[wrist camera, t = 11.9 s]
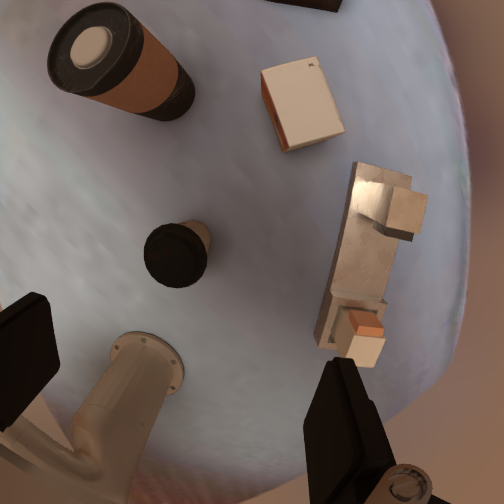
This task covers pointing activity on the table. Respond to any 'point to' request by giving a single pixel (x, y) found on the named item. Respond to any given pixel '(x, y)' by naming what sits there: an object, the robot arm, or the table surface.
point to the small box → (300, 104)
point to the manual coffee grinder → (313, 4)
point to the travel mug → (118, 64)
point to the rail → (368, 243)
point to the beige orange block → (358, 335)
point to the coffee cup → (177, 253)
